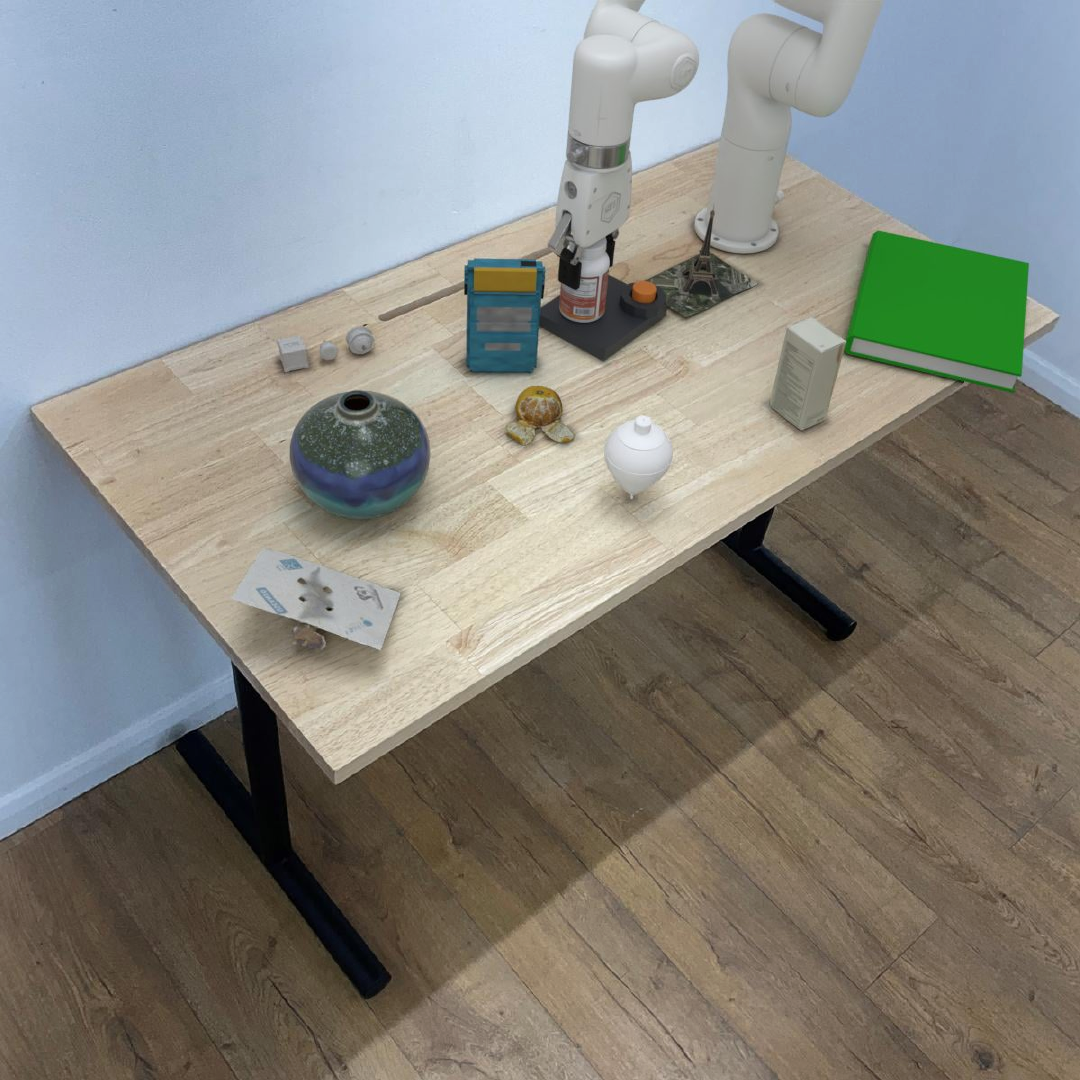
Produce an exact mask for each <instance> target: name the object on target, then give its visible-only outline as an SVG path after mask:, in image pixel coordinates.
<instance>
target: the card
mask: <svg viewBox="0 0 1080 1080" xmlns="http://www.w3.org/2000/svg"><path fill="white" fill-rule="evenodd" d="M401 595H402V594H401V592H399V591H396V590H392V589H390V588H387V587H384V586H381V584H377V583H373V582H371V581H367V580H364V579H361V578H359V577H356V576H352V575H349V574H348V573H345V572H341V571H338V570H335V569H332V568H329V567H327V566H324V565H321V564H316V563H314V562H313V561H308V560H306V559H302V558H299V557H297V556H295V555H292V554H289V553H286V552H281V551H277V550H273V549H272V548H270V547H269V548H268V547H264V546H262V548H261V549H260V551H259V553H258V554H257V556H256V558H255V559H254V561H253V562H252V564H251V566H250V567H249V569H248V571H247V572H246V574H245V575H244V576H243V579H242V580H241V582H240V583H239V584H238V587H237V588H236V590H234V593H233V595H232V596H231V597H230V599H231V600H232V601H236V602H239V603H242V604H245V605H247V606H250V607H253V608H256V609H259V610H261V611H264V612H268V613H272V614H275V615H279V616H282V617H286V618H288V619H292V620H294V621H296V624H295V625H292V626H291V630H290V632H291V634H290V637H293V638H294V640H293V641H292V645H293V646H296V645H298V644H301V646H303V647H308V649H315V650H318V649H320V650H322V651H323V650H324V649H325V647H326V646H327V645H326V644H327V641H326V639H325V636H324V635H323V634H320V633H319V632H317V630H318V629H322V630H324V631H326V632H328V633H332V634H334V635H337V636H340V637H341V638H344V639H347V640H349V641H353V642H355V643H358V644H361V645H364V646H369V647H370V649H374V648H375V649H376V650H379V652H380V651H382V648H383V645H384V642H385V640H386V636H387V634H388V632H389V629H390V626H391V623H392V620H393V618H394V614H395V611H396V608H397V606H398V603H399V600H400V598H401Z"/></svg>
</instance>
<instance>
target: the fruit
mask: <svg viewBox="0 0 1080 1080" xmlns="http://www.w3.org/2000/svg"><path fill="white" fill-rule="evenodd" d="M514 410H515V414H516V419H517V421H514V422H509V423H507V425H506V426H505V432H506V433H507V434H508V435H509V436H511V438H512V439H513V440H514V441H515V442H517V443H518V444H520V445H522V446H527V445H528V444H531V443H532V441H533V439H534V438H535V436H536V433H535V429H537V428H540V429H542V430H541V431H542V432H544V434H546V435H547V437H549V439H551V440H552V441H554V442H556V443H567V442H570V441H571V440H573V439H574V438H575V437H576V436H575V435H576V434H575V433H574V432H573V431H572V430H571V429H570V428H569V427H568V426H567V425H565V423H562V422H561V421H560V419H561V417H562V415H563V403H562V399H561V398H560V395H559V394H558V393H557V392H556V391H555V390H554V389H551V388H550V387H547V386H543V385H531V386H528V387H527V388H525V389H523V390H522V391H520V394H519V395H518V397H517V399H516V403H515V406H514Z"/></svg>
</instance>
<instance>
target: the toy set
mask: <svg viewBox="0 0 1080 1080" xmlns="http://www.w3.org/2000/svg"><path fill="white" fill-rule="evenodd" d="M345 336H346V337H345V342H346V344H347V345H348V348H349V350H350V351H351V352H352V353H353V354H356V355H365V354H367V353H368V352H370V351H371V350H372V349H373V348H374V345H375V337H374V335H373V333H372V331H371V330H370V329H369V328H368V327H366V326H365V325H364V326H363V325H358V326H354V327H353V328H350V330H349V331H348V332H347V334H346V335H345ZM276 343H277V346H278V352H279V355H278V358H279V360H280V362H281V364H282V367H283V371H284V374H285V373H290V371H296V370H301V369H309V368H310V365H309V362H308V356H307V355H308V354H307V353H308V349H307V346H305V344H304V343H305V342H303V338H302V335H301V334H297V335H296V336H291V337H285V338H277V339H276ZM338 354H339V348H338V346H337V344H335V343H333V342H332V341H330V340H323V341H322V343H321V344H320V346H319V355H320V357H321V359H323V360H326V361H331V360H333V359H335V358H336V357H338Z"/></svg>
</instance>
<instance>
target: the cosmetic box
mask: <svg viewBox="0 0 1080 1080" xmlns="http://www.w3.org/2000/svg"><path fill="white" fill-rule="evenodd" d="M845 344H846V339H844V338H843V337H841V336H840V335H839V334H837V332H834V331H833V330H832V329H831V328H829V327H828V326H826V325H825V324H823V323H822V322H820V321H819V319H816V318H815V317H813V316H810V317H807V318H804V319H801V320H800V321H796V322H794V323H792V324H789V325H787V326H786V329H785V334H784V337H783V343H782V346H781V352H780V355H779V360H778V363H777V369H776V374H775V378H774V382H773V386H772V390H771V397H770V399H769V404H768V405H769V407H771V408H772V409H773V410H774V411H775V412H776V413H778V414H779V415H780V416H781V417H783V418H784V419H785V420H786V421H788V422H789V423H790V424H792V425H793V426H794V427H795V428H797V429H798V430H800V431H804V430H806V429H809V428H811V427H814V426H815V425H817V424H819V423H822V422H824V421H825V420H826V418H827V413H828V410H829V407H830V403H831V400H832V395H833V391H834V389H835V384H836V382H837V377H838V374H839V370H840V367H841V362H842V359H843V356H844V351H845V349H844V348H845Z"/></svg>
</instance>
